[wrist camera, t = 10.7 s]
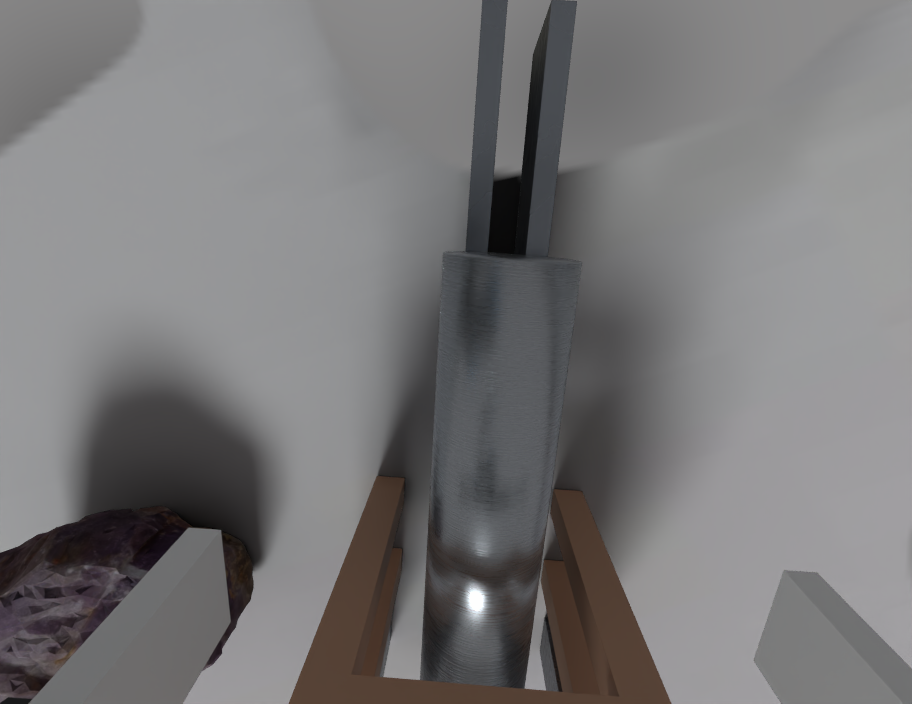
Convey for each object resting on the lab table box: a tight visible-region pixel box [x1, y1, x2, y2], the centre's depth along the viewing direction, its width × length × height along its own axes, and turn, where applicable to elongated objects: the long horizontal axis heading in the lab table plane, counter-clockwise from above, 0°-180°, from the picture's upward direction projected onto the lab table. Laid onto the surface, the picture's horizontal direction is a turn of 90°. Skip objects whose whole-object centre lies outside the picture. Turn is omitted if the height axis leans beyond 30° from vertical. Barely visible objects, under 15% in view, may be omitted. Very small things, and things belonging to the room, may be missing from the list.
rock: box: [0, 506, 253, 703], centre depth 22 cm, size 12×9×10 cm
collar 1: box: [289, 476, 671, 704], centre depth 18 cm, size 2×11×12 cm, turn 87°
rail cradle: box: [466, 0, 577, 257], centre depth 21 cm, size 32×3×4 cm, turn 176°
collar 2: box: [361, 548, 601, 695], centre depth 19 cm, size 2×11×12 cm, turn 87°
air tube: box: [420, 251, 582, 689], centre depth 17 cm, size 24×4×4 cm, turn 176°
